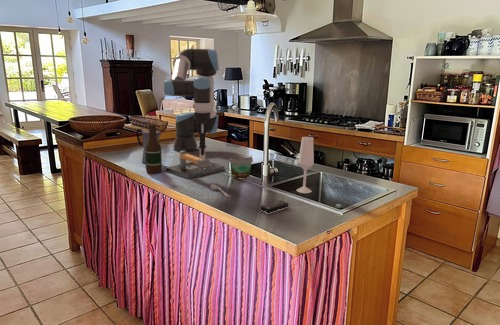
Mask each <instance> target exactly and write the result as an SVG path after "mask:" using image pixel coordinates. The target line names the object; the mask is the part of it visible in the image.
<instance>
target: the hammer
mask: <svg viewBox="0 0 500 325" xmlns="http://www.w3.org/2000/svg"><path fill="white" fill-rule="evenodd" d="M187 161H188V162H189V163H190V162H193V163H196V164H197V166H199V167H203V166H208V165H209V162H210V159H209V158H205V159H202V158H200V156H199V157H198V156H196V155H192V154H190V153H188V152H186V151H179V163H180V164H179V165H180V169H181V170H185V169H186V163H187Z"/></svg>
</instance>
